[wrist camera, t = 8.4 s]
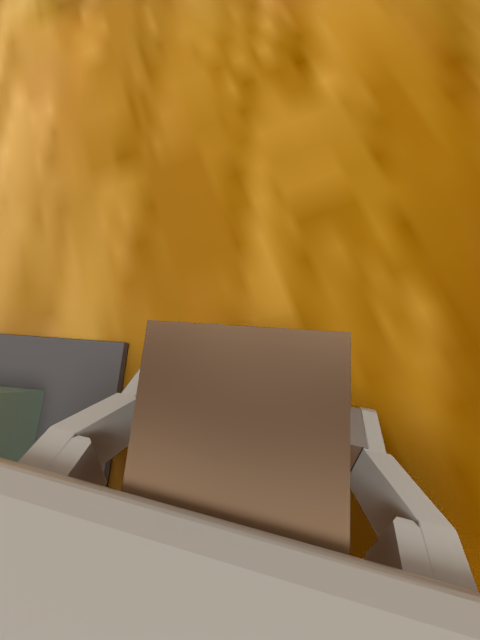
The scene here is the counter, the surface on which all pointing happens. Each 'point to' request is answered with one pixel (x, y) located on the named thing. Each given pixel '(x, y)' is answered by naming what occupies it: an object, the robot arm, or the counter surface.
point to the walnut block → (246, 427)
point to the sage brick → (18, 420)
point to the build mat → (63, 374)
